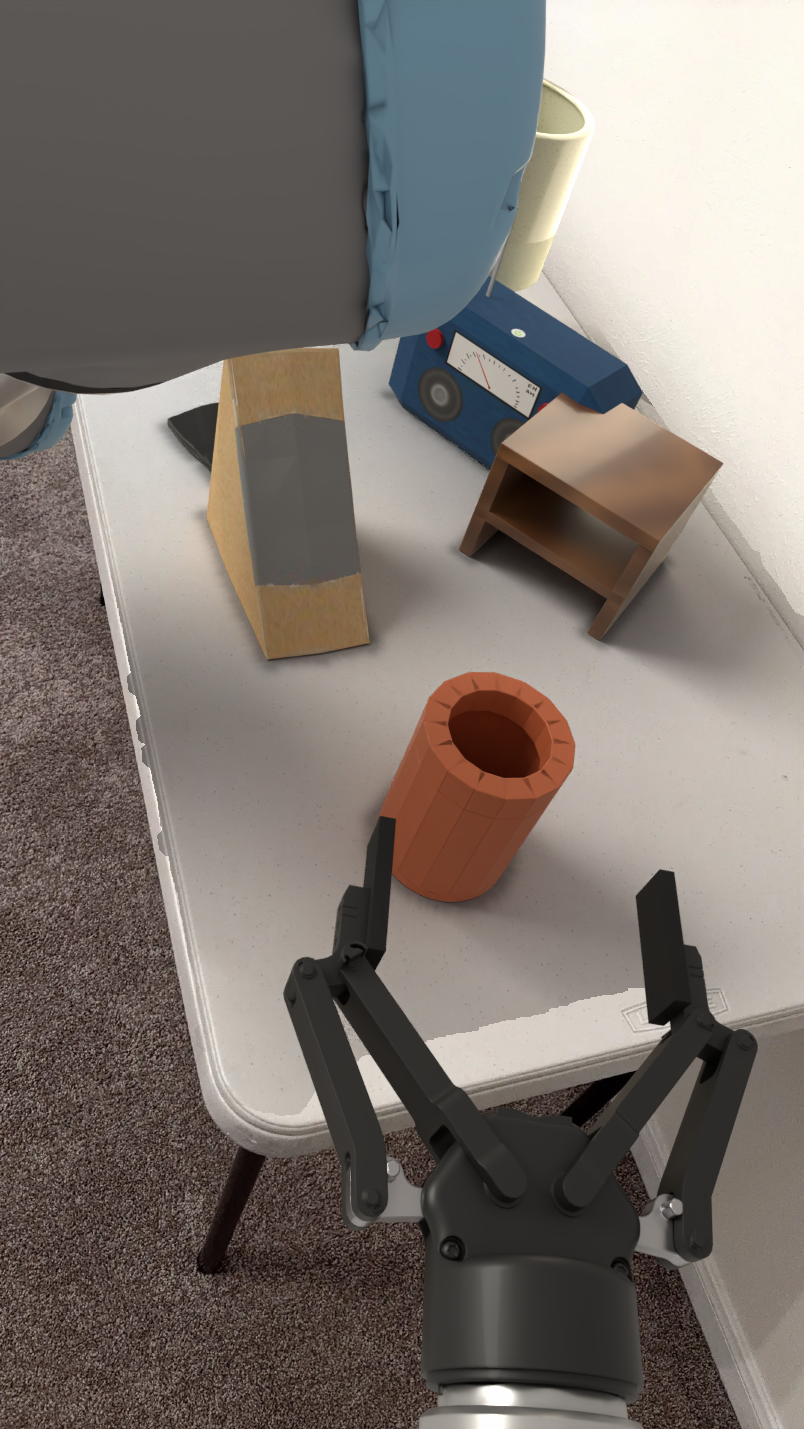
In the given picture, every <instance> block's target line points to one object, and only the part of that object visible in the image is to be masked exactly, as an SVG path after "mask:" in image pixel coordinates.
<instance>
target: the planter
mask: <svg viewBox="0 0 804 1429" xmlns="http://www.w3.org/2000/svg"><path fill="white" fill-rule="evenodd" d="M595 123H596V122H595V118H594V117H593V115H592V113H591V112H590V110H589V108H588V107H587V106H585V104H584V103H583V102H582V101H581V100H579V99H578V98H577V97H576V96H574V95H573V94H572V93H570V92H568V90H566V89H565V88H563V87H562V86H559V85H558V84H556V83H554V82H552V81H551V80H548V79H546V78H545V77H543V86H542V96H541V105H540V112H539V119H538V126H537V132H536V137H535V143H534V148H533V153H532V157H531V159H530V161H529V162H528V163H527V166H526V168H525V170H524V174H523V177H522V180H521V185H520V190H519V197H518V206H517V207H518V211H517V214H516V217H515V220H514V224H513V227H512V230H511V233H510V236H509V239H508V242H507V245H506V248H505V251H504V255H503V258H502V261H501V264H500V267H499V270H498V273H497V276H496V279H495V280H497V281H498V282H500V283H501V284H503V285H504V286H506V287H507V288H509V289H511V290H512V291H514V292H515V293H516V292H521V291H524V290H527V289H528V288H530V287H532V286H533V285H534V284H535V283H536V282H537V281H538V280H539V278H540V275H541V273H542V270H543V268H544V265H545V262H546V259H547V257H548V254H549V252H550V249H551V247H552V244H553V241H554V238H555V236H556V233H557V231H558V227H559V225H560V223H561V220H562V218H563V214H564V213H565V212H564V211H565V209H566V207H567V203H568V201H569V199H570V196H571V193H572V191H573V188H574V185H575V183H576V179H577V177H578V174H579V172H580V170H581V167H582V164H583V161H584V159H585V156H586V153H587V150H588V148H589V145H590V142H591V140H592V138H593V134H594V132H595V129H596V128H595V127H596V124H595ZM496 262H497V261H496ZM495 265H496V263H495ZM495 265H494V267H493V269H492V271H491V272H490V274H489V276H490V277H492V275H493V271H494V268H495Z"/></svg>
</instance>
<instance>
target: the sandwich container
mask: <svg viewBox="0 0 804 1429" xmlns="http://www.w3.org/2000/svg"><path fill="white" fill-rule="evenodd" d="M342 383H343V382H342V371H341V358H340V348H339V347H304V348H294V349H286V350H278V351H271V352H264V353H258V354H252V355H246V356H241V357H235V358H231V359H226V360H223V361H222V369H221V379H220V388H219V396H218V402H219V406H218V415H217V425H216V434H215V443H214V452H213V461H212V471H211V472H210V480H209V490H208V500H207V509H206V517H205V518H206V521H207V523H208V525H209V528H210V531H211V533H212V537H213V539H214V541H215V544H216V548H217V549H218V552H219V555H220V558H221V560H222V563H223V565H224V569H225V571H226V573H227V576H228V578H229V581H230V583H231V584H232V586H233V588H234V590H235V593H236V596H237V597H238V600H239V602H240V604H241V607H242V608H243V611H244V613H245V615H246V617H247V620H248V621H249V624H250V626H251V629H252V631H253V633H254V635H255V637H256V639H257V642H258V644H259V646H260V649H261V651H262V652H263V655H264V657H265V659H266V660H274V659H282V658H290V657H299V656H300V657H301V656H308V655H317V654H323V653H327V652H328V653H329V652H333V651H338V650H343V649H347V648H351V647H357V646H361V645H366V644H369V645H370V643H371V641H370V634H369V626H368V619H367V611H366V602H365V593H364V585H363V577H362V569H361V561H360V552H359V544H358V535H357V534H358V533H357V525H356V518H355V505H354V497H353V496H354V495H353V486H352V479H351V478H352V477H351V468H350V462H349V461H350V458H349V450H348V440H347V430H346V422H345V420H346V418H345V411H344V398H343V385H342Z"/></svg>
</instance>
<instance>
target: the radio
mask: <svg viewBox="0 0 804 1429" xmlns="http://www.w3.org/2000/svg"><path fill="white" fill-rule="evenodd" d="M517 211H518V207H517ZM516 214H517V212H516ZM515 217H516V215H515ZM514 220H515V218H514ZM513 224H514V222H513ZM512 227H513V225H512ZM512 227H511V230H512ZM511 230H510V233H511ZM510 233H509V235H508V237H507V240H506V242H505V244H504V247H503V249H502V251H501V253H500V255H499V257H498V259H497V262H496V265H495V268H494V271H493V275H492V277H490V276H488V277H487V279H486V281H485V282H484V284H483V285H482V286H481V288H480V289H479V291H478V292H477V294H476V295H475V296H474V297H473V298H472V300H471V301H470V302H469V303H468V304H467V305H466V307H465V308H463V309H462V310H461V311H460V312H459V313H458V314H457V315H456V316H455V317H453V318H452V319H451V320H449V321H448V322H446V323H445V324H443V325H441V326H439V327H437V328H436V329H433V330H431V331H429V332H426V333H422V334H418V335H412V336H406V337H399V340H398V344H397V349H396V353H395V356H394V360H393V364H392V368H391V372H390V375H389V380H388V386H389V388H390V389H391V391H392V393H393V394H394V396H395V398H396V399H397V401H398V402H399V404H400V406H401V407H402V408H403V409H405V410H406V411H407V412H408V413H410V414H411V415H413V416H414V417H415V418H417V419H418V420H420V421H421V422H422V423H423V424H425V425H426V426H428V427H429V428H431V429H432V430H434V431H435V432H436V433H438V434H439V435H440V436H442V437H443V438H444V439H446V440H447V441H449V442H450V443H451V444H453V445H454V446H456V447H457V448H459V449H460V450H461V451H462V452H464V453H465V454H467V455H468V456H470V457H471V458H472V459H474V460H475V461H476V462H478V463H479V464H481V466H483V467H485V468H486V469H488V470H489V471H490V469H491V467H492V464H493V462H494V459H495V457H496V454H497V452H498V449H499V447H500V444H501V443H502V442H503V441H504V440H505V439H507V438H508V437H509V436H510V435H511V434H513V433H514V432H515V431H516V430H517V429H519V428H520V427H521V426H522V425H523V424H525V423H526V422H527V421H528V420H529V419H531V418H532V417H533V416H534V415H535V414H537V413H538V412H539V411H540V410H542V409H543V408H544V407H545V406H546V405H548V404H549V403H550V402H551V401H552V400H554V399H555V398H556V397H557V396H558V395H560V394H561V393H564V394H565V395H567V396H568V397H570V398H571V399H572V400H574V401H575V402H577V403H578V404H581V405H583V406H585V407H588V408H590V409H592V410H595V411H597V412H599V413H602V414H605V413H607V412H608V411H610V410H611V409H613V408H615V407H616V406H618V405H619V404H621V403H623V404H625V405H627V406H628V407H630V408H632V409H633V410H635V409H636V408H637V405H638V403H639V402H640V399H641V397H642V395H643V390H642V389H641V387H640V385H639V383H638V381H637V380H636V377H635V376H634V374H633V372H632V370H631V369H630V367H629V365H628V363H626V362H624V361H623V360H621V359H620V358H618V357H617V356H615V355H613V354H612V353H611V352H609V351H607V350H606V349H604V348H603V347H601V346H600V345H598V344H597V343H595V342H593V341H592V340H590V339H589V338H587V337H585V336H584V335H582V334H581V333H579V332H578V331H576V330H575V329H573V328H572V327H570V326H568V325H567V324H565V323H563V322H562V321H560V320H559V319H557V318H556V317H554V316H553V315H551V314H549V313H548V312H547V311H546V310H543V309H541V308H540V307H539V306H537V305H536V304H534V303H533V302H531V301H530V300H528V299H526V298H525V297H524V296H522V295H520V294H519V293H516V292H514V291H512V290H511V289H509V288H507V287H506V286H504V285H503V284H501V283H500V282H498V281H497V280H495V279H496V276H497V273H498V270H499V267H500V264H501V261H502V258H503V255H504V251H505V248H506V245H507V242H508V239H509V236H510ZM635 411H636V410H635Z"/></svg>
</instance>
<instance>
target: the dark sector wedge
mask: <svg viewBox="0 0 804 1429" xmlns="http://www.w3.org/2000/svg"><path fill="white" fill-rule="evenodd" d="M218 406H219V401H218V402H211V403H207V404H202V405H199V406H197V407H194V408H191V409H189V410H186V411H184V412H181V413H179V414H175V415H172V416H170V417H167V423H166V424H167V427H168V428H169V429H170V430H171V432H172V433H173V435H174V436H175V437H176V439H178V441H179V442H180V443H181V445H183V447H184V448H185V449H186V450H187V451H188V452H190V454H191V455H193V456H194V457H195V458H196V459H197V460H198V461H199V462H201V464H203V466H205V467H206V468H207V469H208V471H209V472H210V473H211V471H212V461H213V452H214V443H215V434H216V425H217V415H218Z"/></svg>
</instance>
